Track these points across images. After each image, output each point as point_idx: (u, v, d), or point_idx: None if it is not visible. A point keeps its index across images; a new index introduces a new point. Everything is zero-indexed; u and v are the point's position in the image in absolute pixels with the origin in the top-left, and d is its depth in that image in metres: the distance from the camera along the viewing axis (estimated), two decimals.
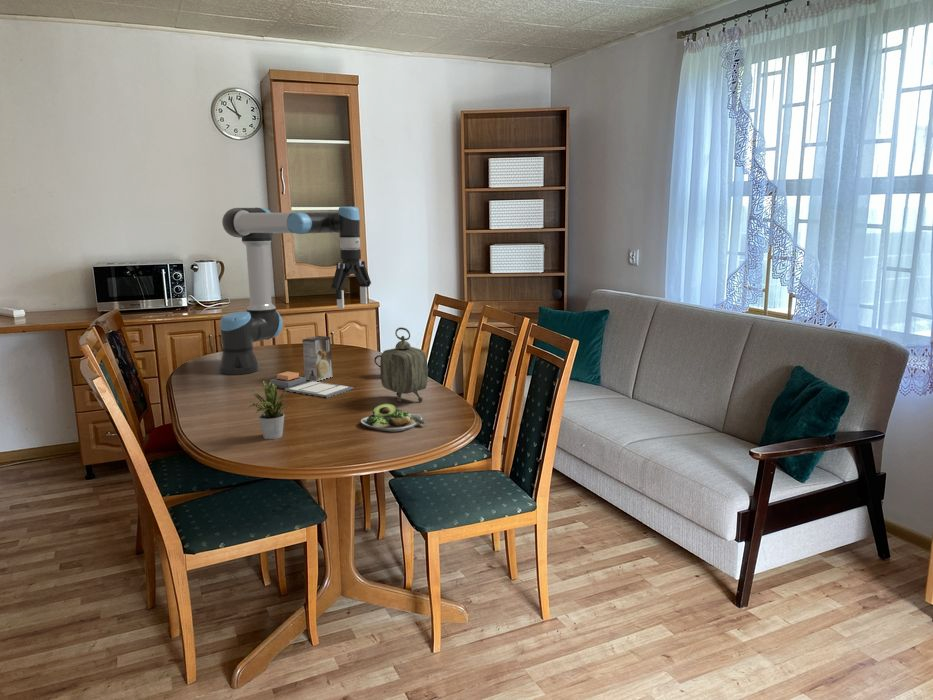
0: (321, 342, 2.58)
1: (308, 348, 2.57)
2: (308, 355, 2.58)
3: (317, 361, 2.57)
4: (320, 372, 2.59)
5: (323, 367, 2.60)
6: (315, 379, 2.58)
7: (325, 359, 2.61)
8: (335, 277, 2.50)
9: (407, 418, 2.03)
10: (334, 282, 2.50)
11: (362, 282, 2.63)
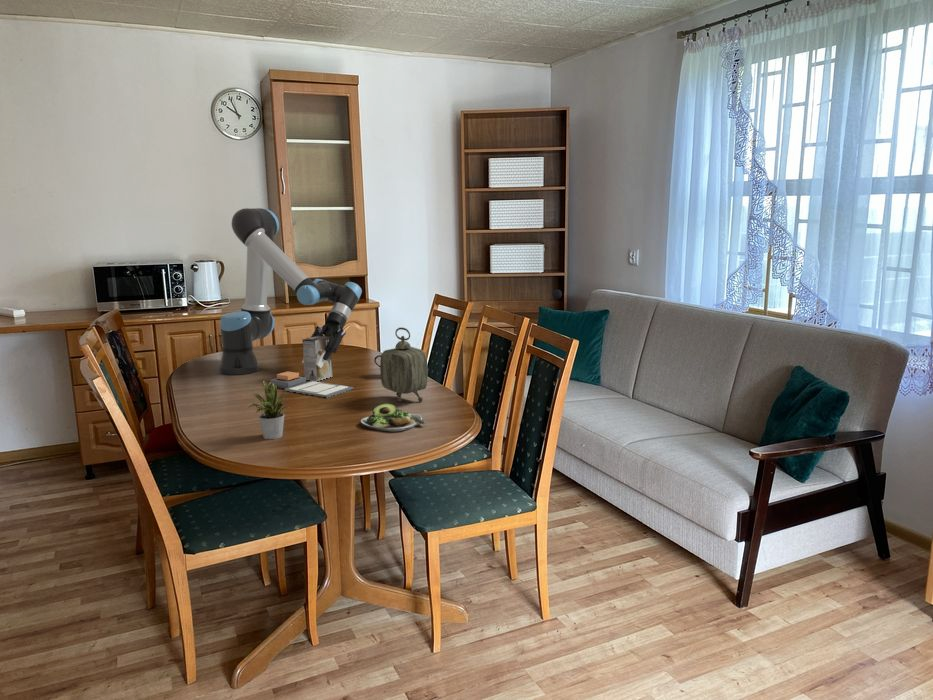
0: (321, 342, 2.58)
1: (308, 348, 2.57)
2: (308, 355, 2.58)
3: None
4: (320, 372, 2.59)
5: (322, 367, 2.60)
6: (315, 379, 2.58)
7: None
8: (337, 341, 2.61)
9: (407, 418, 2.03)
10: (335, 346, 2.60)
11: None
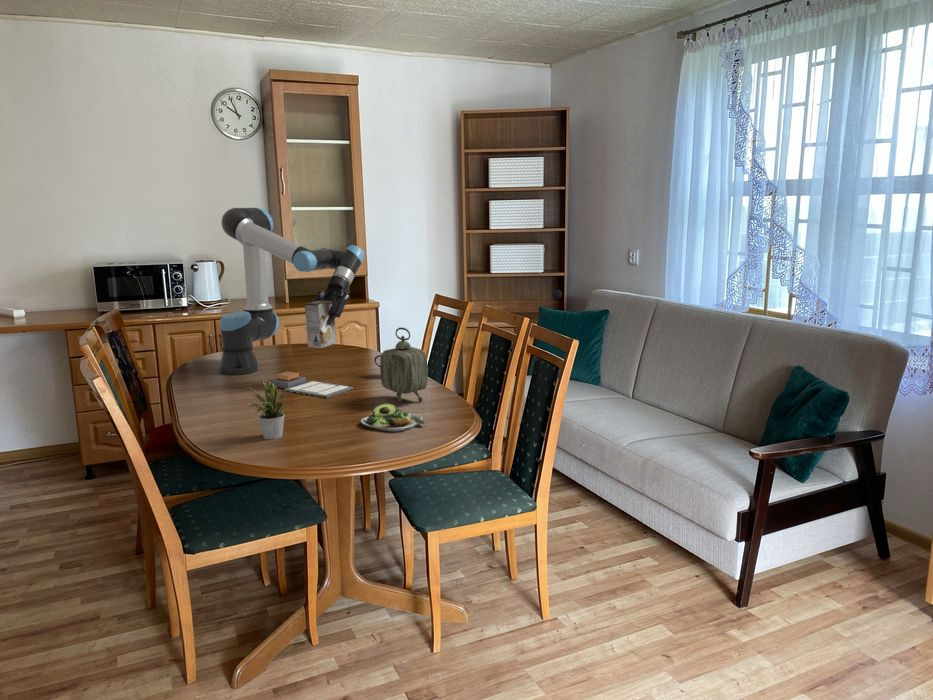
0: (325, 306, 2.47)
1: (311, 312, 2.46)
2: (310, 320, 2.47)
3: None
4: (324, 337, 2.48)
5: (326, 333, 2.49)
6: (319, 345, 2.47)
7: None
8: (341, 305, 2.50)
9: (407, 418, 2.03)
10: (339, 310, 2.49)
11: None
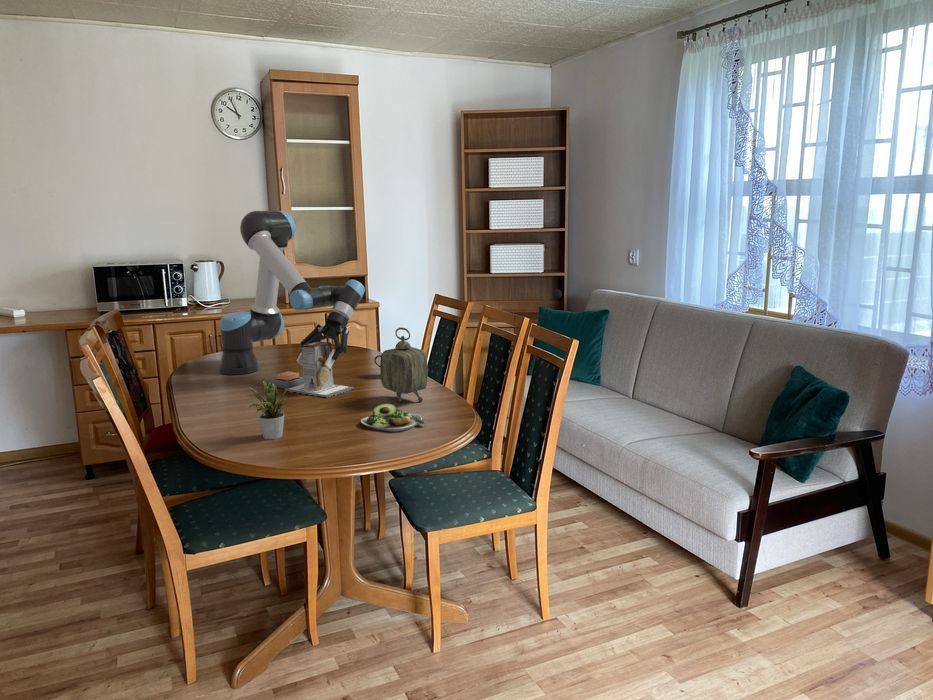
0: (322, 348, 2.41)
1: (308, 355, 2.40)
2: (307, 362, 2.41)
3: (317, 369, 2.40)
4: (320, 380, 2.42)
5: (323, 375, 2.43)
6: (315, 388, 2.41)
7: (325, 366, 2.44)
8: (344, 340, 2.43)
9: (407, 418, 2.03)
10: (344, 344, 2.42)
11: None
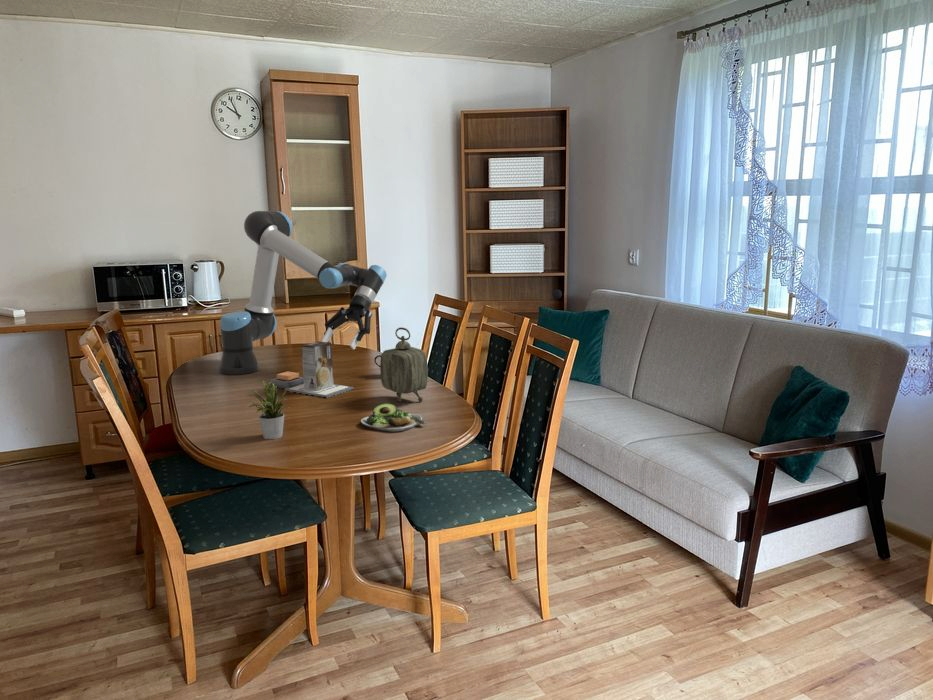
0: (322, 348, 2.41)
1: (308, 355, 2.40)
2: (307, 362, 2.41)
3: (317, 369, 2.40)
4: (320, 380, 2.42)
5: (323, 375, 2.43)
6: (315, 388, 2.41)
7: (325, 366, 2.44)
8: (368, 322, 2.53)
9: (407, 418, 2.03)
10: (368, 326, 2.52)
11: (335, 326, 2.59)
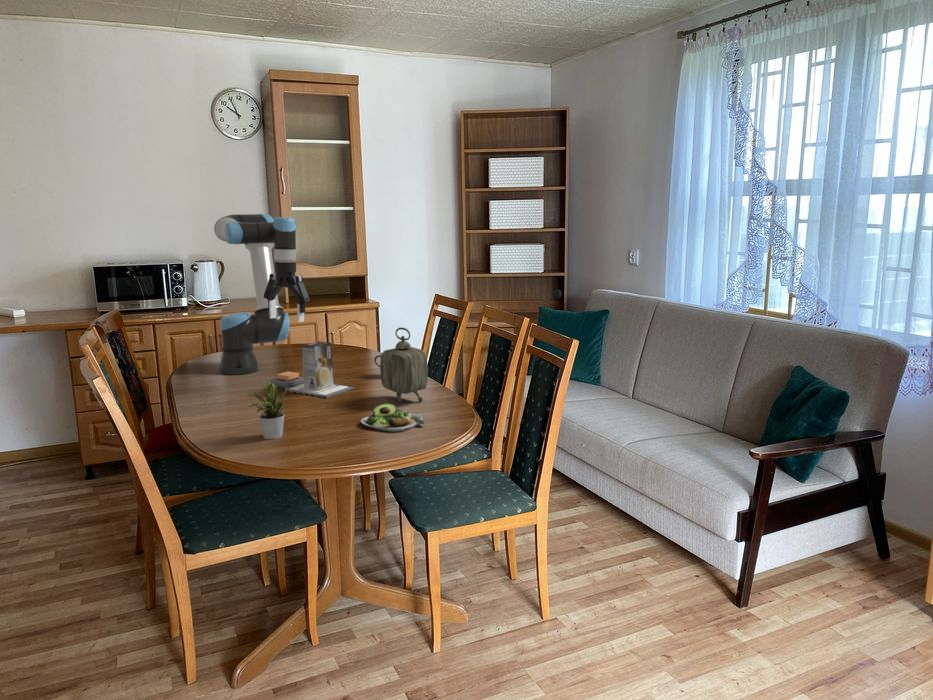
0: (322, 348, 2.41)
1: (308, 355, 2.40)
2: (307, 362, 2.41)
3: (317, 369, 2.40)
4: (320, 380, 2.42)
5: (323, 375, 2.43)
6: (315, 388, 2.41)
7: (325, 366, 2.44)
8: (302, 290, 2.42)
9: (407, 418, 2.03)
10: (305, 295, 2.43)
11: (274, 295, 2.51)
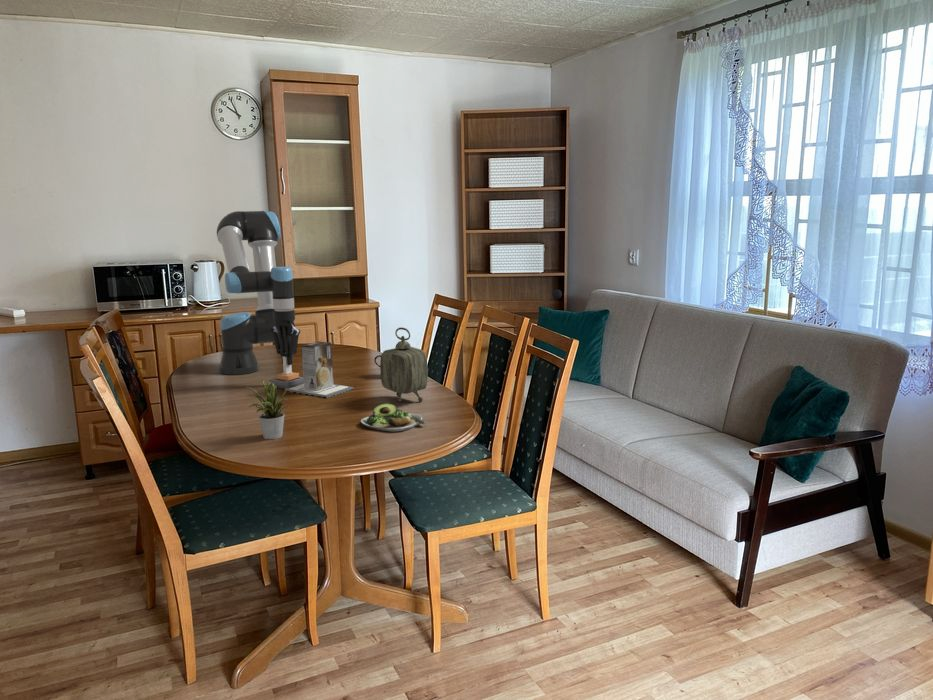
0: (322, 348, 2.41)
1: (308, 355, 2.40)
2: (307, 362, 2.41)
3: (317, 369, 2.40)
4: (320, 380, 2.42)
5: (323, 375, 2.43)
6: (315, 388, 2.41)
7: (325, 366, 2.44)
8: (294, 344, 2.48)
9: (407, 418, 2.03)
10: (294, 349, 2.49)
11: None
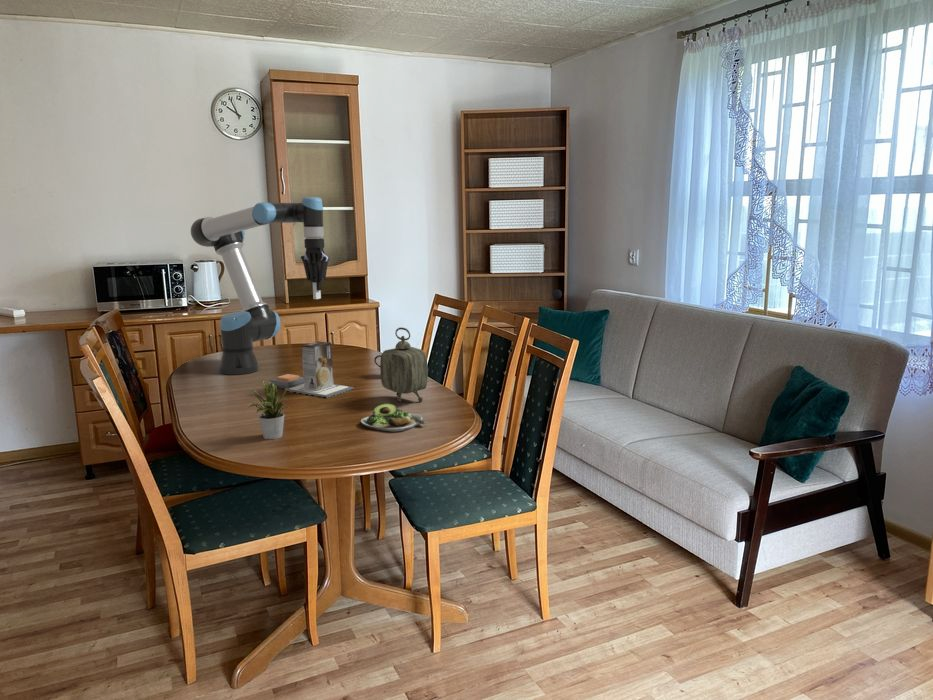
0: (322, 348, 2.41)
1: (308, 355, 2.40)
2: (307, 362, 2.41)
3: (317, 369, 2.40)
4: (320, 380, 2.42)
5: (323, 375, 2.43)
6: (315, 388, 2.41)
7: (325, 366, 2.44)
8: (323, 270, 2.65)
9: (407, 418, 2.03)
10: (323, 275, 2.66)
11: None
